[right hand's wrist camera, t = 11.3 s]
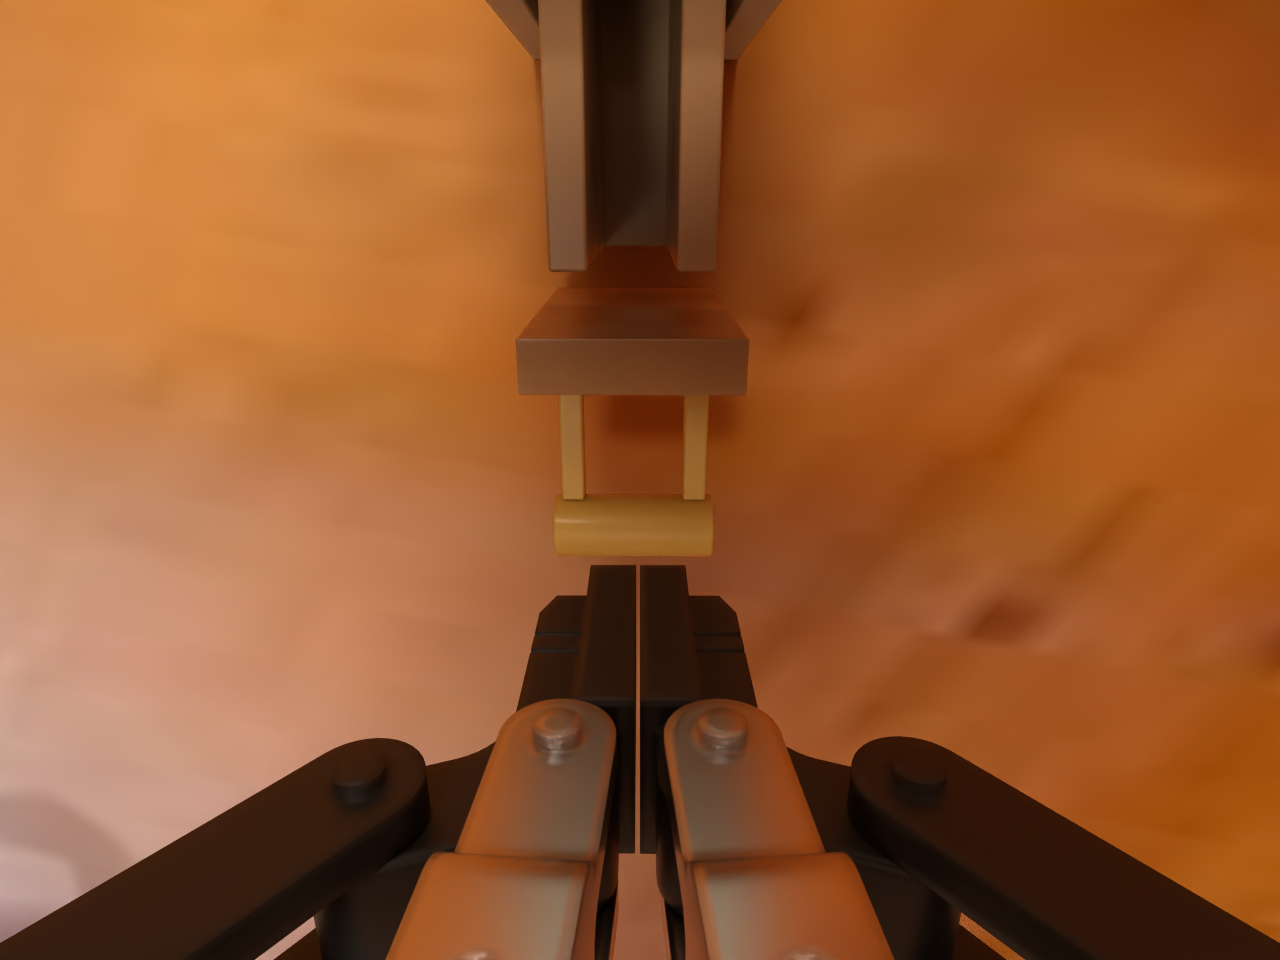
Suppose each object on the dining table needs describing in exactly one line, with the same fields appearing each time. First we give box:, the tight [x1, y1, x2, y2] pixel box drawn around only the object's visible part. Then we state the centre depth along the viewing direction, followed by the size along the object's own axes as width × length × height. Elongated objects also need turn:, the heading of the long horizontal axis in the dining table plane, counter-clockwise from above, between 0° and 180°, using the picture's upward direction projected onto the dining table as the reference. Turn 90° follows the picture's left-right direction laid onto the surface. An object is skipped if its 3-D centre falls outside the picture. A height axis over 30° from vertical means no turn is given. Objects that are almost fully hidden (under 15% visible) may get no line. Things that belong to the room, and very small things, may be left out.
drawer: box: [516, 0, 749, 556], centre depth 18 cm, size 22×5×9 cm, turn 0°
